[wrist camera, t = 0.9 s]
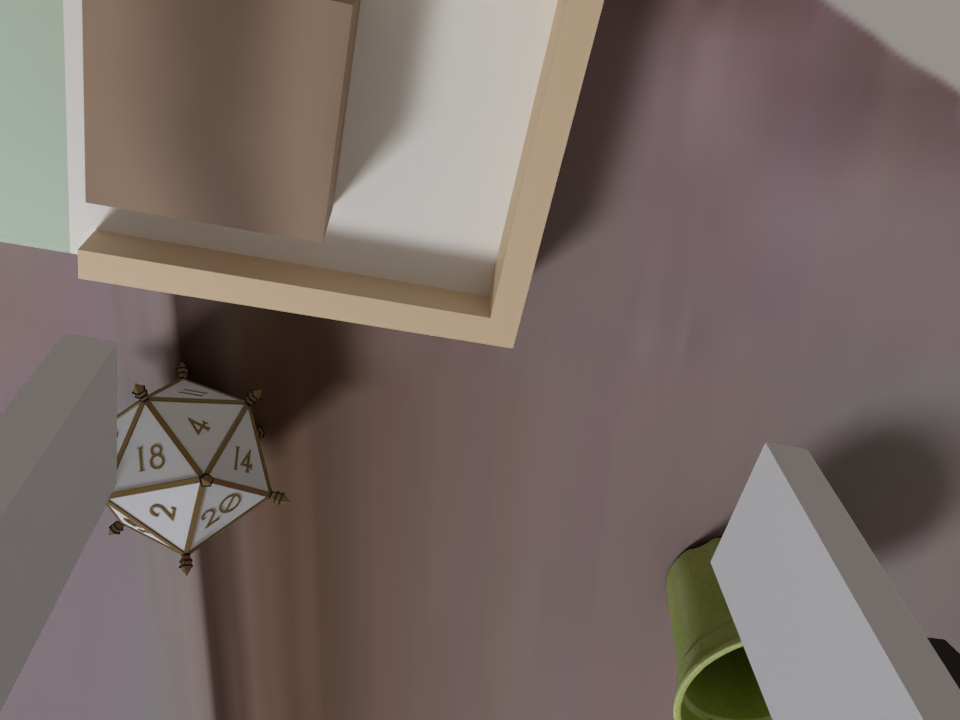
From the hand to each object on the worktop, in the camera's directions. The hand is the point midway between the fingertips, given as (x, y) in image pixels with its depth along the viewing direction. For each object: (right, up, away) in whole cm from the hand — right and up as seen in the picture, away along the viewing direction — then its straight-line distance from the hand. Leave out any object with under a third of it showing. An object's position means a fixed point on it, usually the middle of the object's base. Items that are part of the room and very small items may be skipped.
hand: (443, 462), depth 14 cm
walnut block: (-8, +12, +17) cm, 22 cm away
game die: (-13, -1, +28) cm, 31 cm away
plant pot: (+14, -10, +35) cm, 39 cm away
